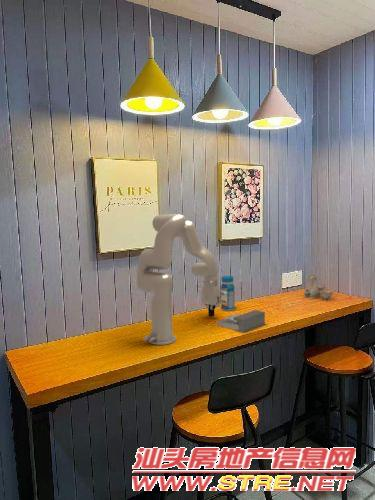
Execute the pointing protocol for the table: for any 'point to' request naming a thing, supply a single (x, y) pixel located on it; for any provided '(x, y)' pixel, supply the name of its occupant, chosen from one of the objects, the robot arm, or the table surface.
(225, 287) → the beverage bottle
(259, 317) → the steel lip bracket
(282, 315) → the table surface
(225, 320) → the stone block
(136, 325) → the table surface
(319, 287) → the chinaware
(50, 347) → the table surface
